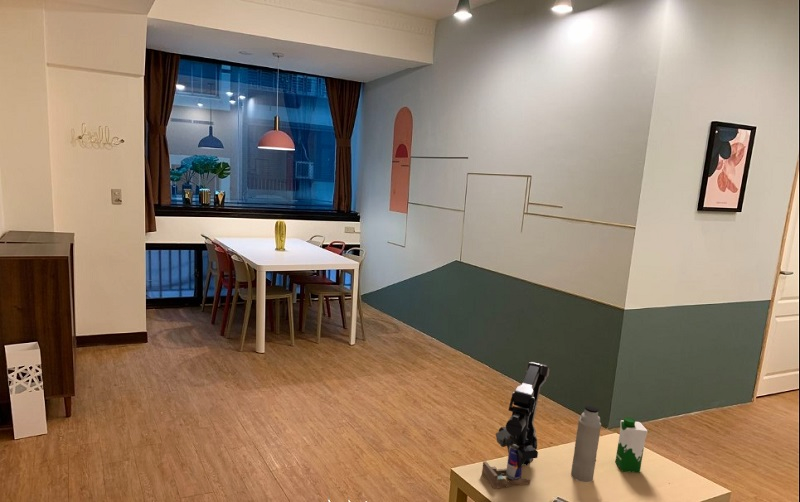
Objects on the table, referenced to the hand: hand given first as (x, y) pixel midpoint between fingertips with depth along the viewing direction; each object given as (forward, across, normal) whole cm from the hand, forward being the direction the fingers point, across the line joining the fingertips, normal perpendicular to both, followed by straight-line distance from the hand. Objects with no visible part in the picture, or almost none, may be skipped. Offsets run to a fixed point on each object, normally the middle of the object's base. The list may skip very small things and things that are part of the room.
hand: (514, 463), depth 197 cm
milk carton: (+6, +2, +51) cm, 51 cm away
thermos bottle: (+6, +4, +28) cm, 29 cm away
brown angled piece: (+6, 0, -3) cm, 7 cm away
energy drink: (+5, 0, 0) cm, 5 cm away
